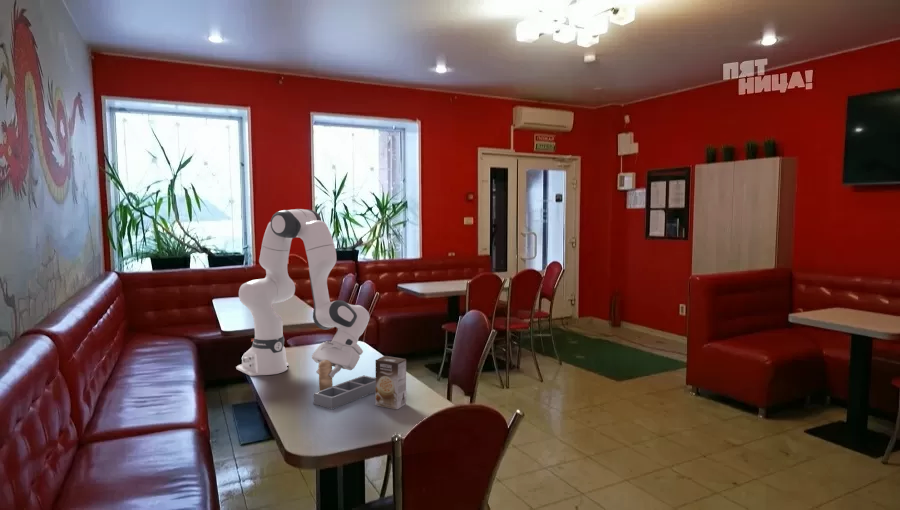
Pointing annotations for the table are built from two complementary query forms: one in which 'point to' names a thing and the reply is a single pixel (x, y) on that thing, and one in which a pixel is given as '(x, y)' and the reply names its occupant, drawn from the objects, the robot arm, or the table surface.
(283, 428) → the table surface
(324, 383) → the tan domed cylinder
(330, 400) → the grey compartment tray
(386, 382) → the coffee box
